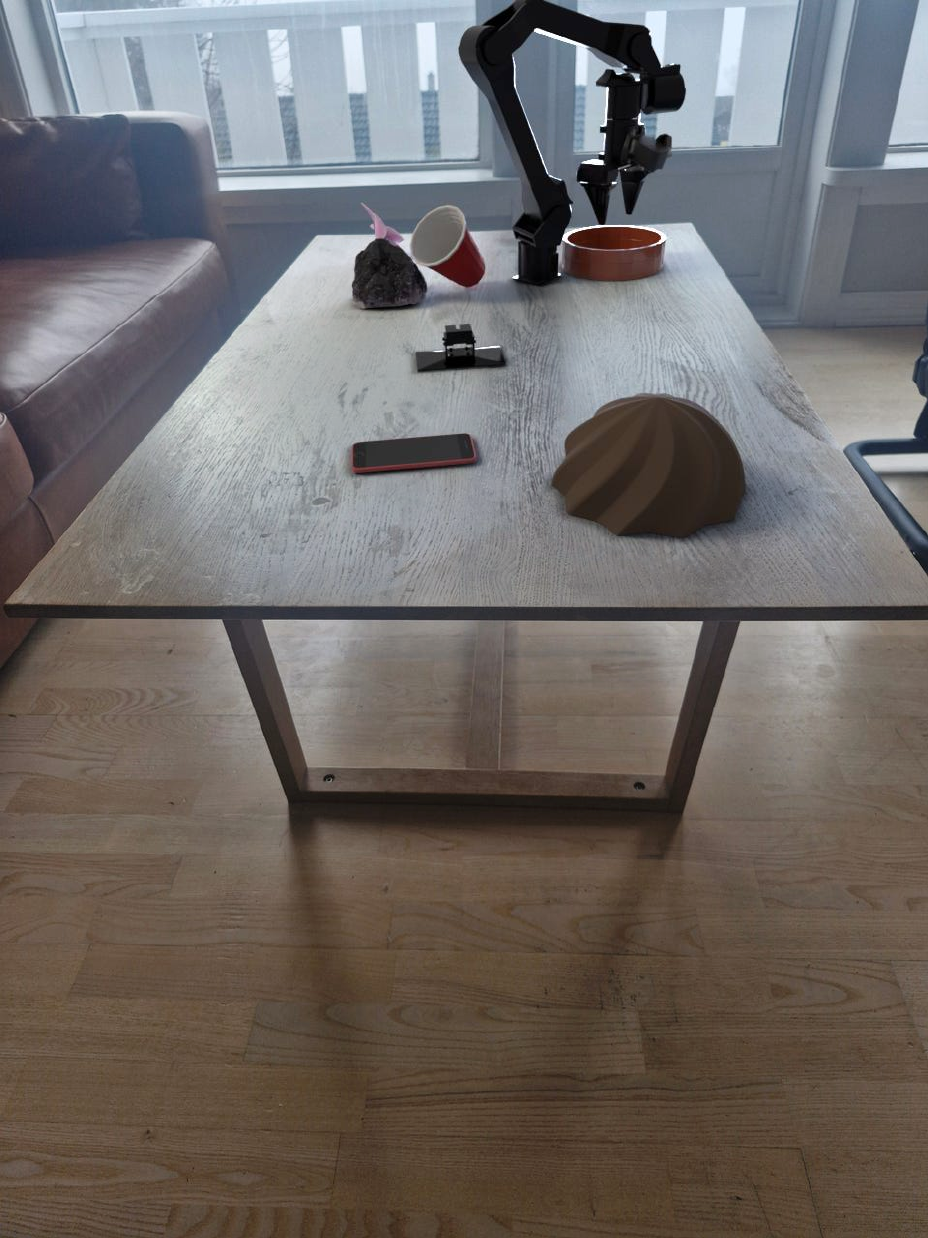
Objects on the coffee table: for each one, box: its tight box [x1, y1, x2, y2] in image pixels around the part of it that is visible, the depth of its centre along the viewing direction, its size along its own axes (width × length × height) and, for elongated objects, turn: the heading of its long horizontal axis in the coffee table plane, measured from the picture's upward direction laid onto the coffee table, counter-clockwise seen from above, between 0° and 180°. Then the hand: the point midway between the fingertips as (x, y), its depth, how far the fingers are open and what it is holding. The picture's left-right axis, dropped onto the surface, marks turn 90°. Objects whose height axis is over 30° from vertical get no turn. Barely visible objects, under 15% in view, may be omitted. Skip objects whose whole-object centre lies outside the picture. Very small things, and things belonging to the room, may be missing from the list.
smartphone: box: [350, 432, 477, 474], centre depth 90 cm, size 7×1×14 cm
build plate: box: [415, 323, 507, 373], centre depth 112 cm, size 12×7×5 cm, turn 95°
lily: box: [360, 202, 405, 248], centre depth 156 cm, size 12×12×10 cm
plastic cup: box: [409, 204, 486, 288], centre depth 135 cm, size 11×11×12 cm
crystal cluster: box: [351, 238, 428, 310], centre depth 135 cm, size 13×14×10 cm
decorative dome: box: [551, 392, 747, 538], centre depth 80 cm, size 19×20×10 cm
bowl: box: [561, 224, 667, 282], centre depth 146 cm, size 18×18×5 cm
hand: (615, 219), depth 143 cm, fingers open, 9 cm apart
